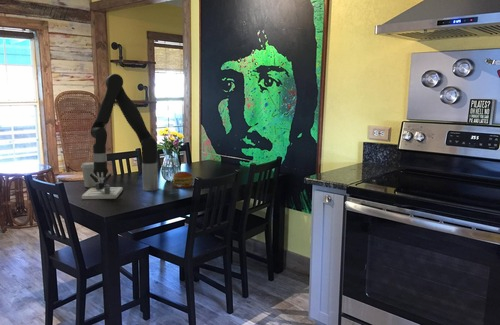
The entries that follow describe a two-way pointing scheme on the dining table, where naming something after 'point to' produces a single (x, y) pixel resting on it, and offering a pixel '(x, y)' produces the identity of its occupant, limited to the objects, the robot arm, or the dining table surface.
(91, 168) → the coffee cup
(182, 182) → the burger
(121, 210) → the dining table surface
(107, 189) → the front switch
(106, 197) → the switch panel
